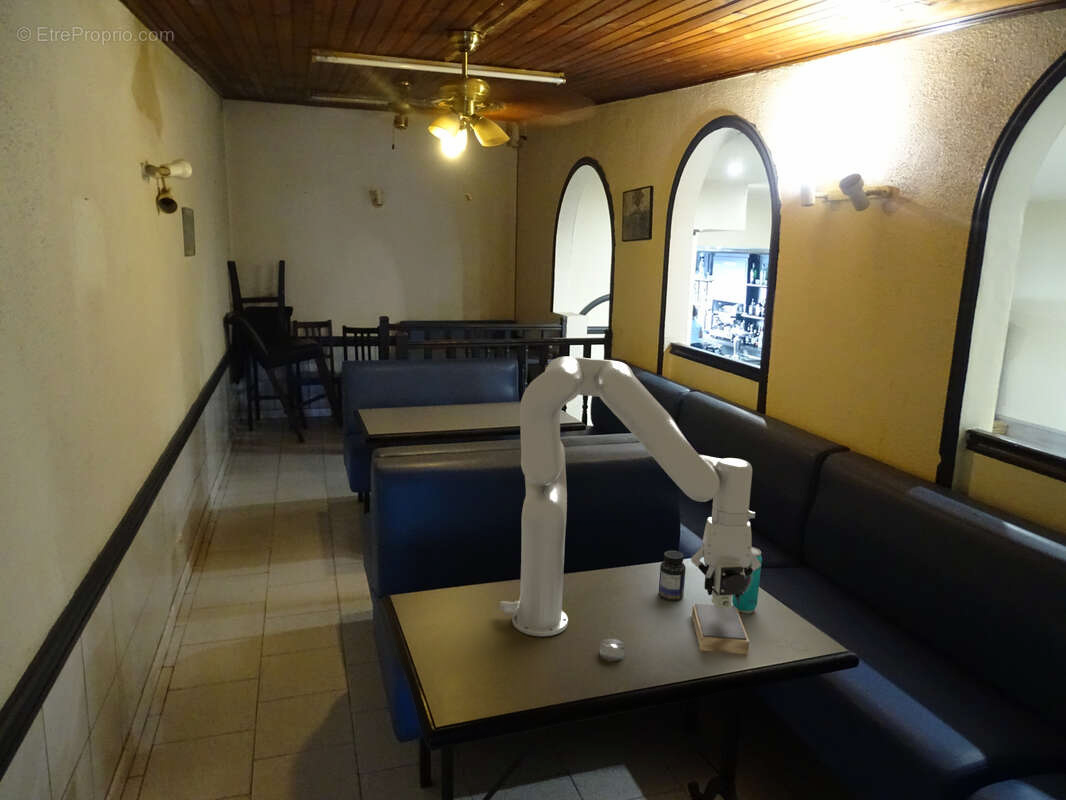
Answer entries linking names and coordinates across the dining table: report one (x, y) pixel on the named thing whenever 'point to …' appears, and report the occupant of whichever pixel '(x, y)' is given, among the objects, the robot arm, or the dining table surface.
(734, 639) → the framed panel
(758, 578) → the beverage can
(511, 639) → the dining table surface
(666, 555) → the pill bottle
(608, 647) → the steel spacer
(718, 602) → the pneumatic valve
